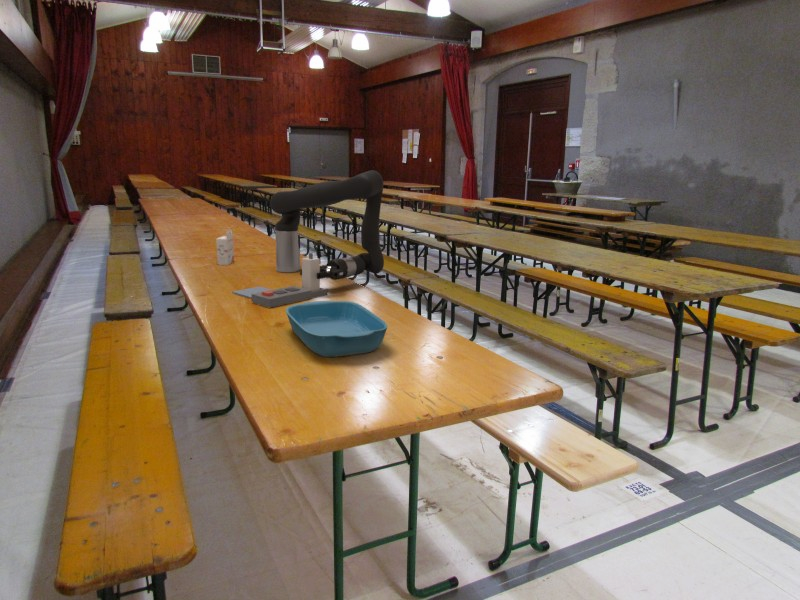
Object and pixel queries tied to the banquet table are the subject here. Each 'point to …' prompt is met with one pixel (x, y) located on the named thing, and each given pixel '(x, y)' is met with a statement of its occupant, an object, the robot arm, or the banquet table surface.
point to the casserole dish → (336, 327)
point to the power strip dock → (285, 296)
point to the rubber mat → (250, 291)
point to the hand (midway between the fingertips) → (309, 274)
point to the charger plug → (310, 273)
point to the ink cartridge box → (225, 249)
